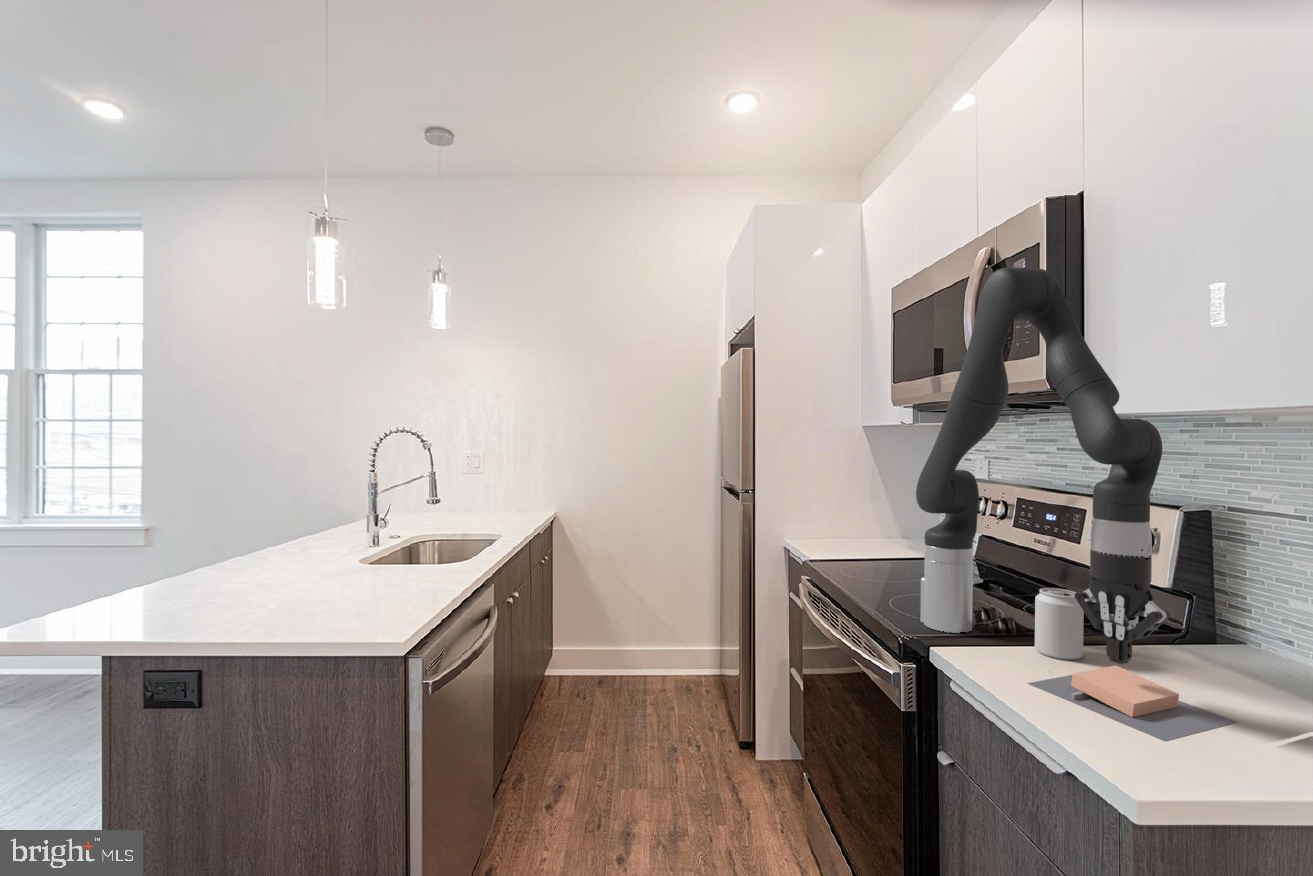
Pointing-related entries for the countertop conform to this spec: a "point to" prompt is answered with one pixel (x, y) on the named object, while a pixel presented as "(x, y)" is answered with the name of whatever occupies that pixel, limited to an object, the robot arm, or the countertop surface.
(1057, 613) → the can
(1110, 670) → the tile
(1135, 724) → the mat
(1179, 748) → the countertop surface
